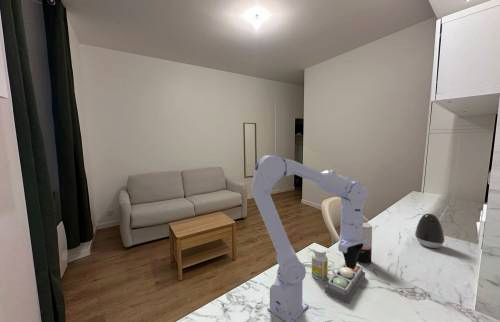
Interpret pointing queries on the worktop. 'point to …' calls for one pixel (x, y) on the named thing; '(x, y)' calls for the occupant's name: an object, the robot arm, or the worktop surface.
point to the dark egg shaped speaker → (429, 231)
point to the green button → (340, 282)
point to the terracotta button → (353, 269)
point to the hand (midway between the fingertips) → (350, 267)
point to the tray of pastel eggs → (351, 287)
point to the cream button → (346, 273)
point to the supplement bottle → (319, 263)
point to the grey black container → (366, 245)
